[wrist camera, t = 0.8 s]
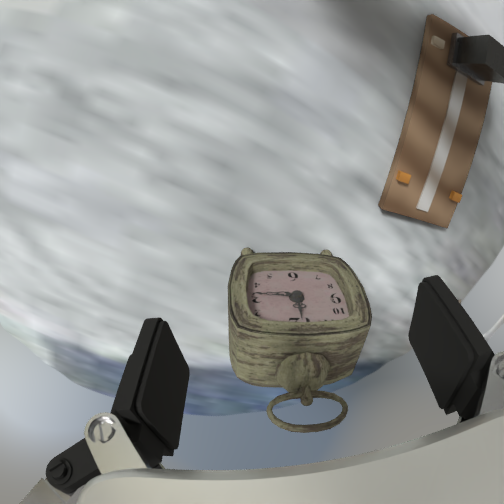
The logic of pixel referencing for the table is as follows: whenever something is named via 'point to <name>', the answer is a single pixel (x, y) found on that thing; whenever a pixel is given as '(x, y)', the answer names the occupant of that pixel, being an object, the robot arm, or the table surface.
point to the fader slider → (477, 58)
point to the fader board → (436, 134)
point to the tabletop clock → (296, 325)
